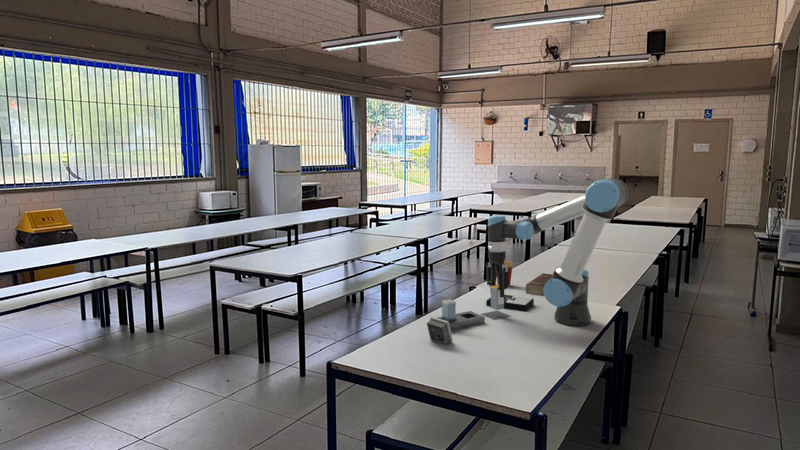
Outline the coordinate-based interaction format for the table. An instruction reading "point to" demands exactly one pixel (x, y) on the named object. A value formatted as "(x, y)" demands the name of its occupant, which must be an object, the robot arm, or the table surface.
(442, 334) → the electrical switch
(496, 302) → the plug
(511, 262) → the french fries
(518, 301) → the multimeter
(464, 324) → the grey block holder
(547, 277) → the hardback book
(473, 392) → the table surface
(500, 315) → the mat
